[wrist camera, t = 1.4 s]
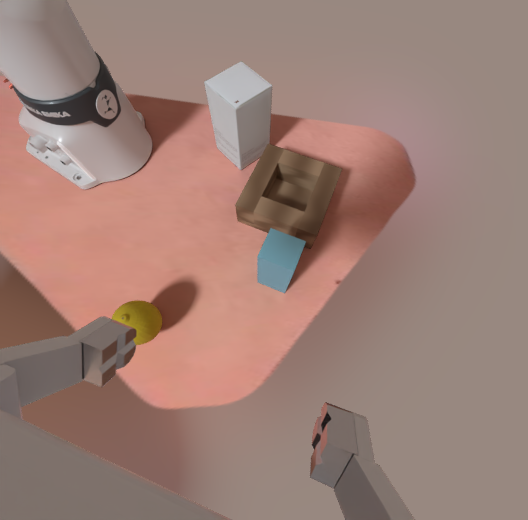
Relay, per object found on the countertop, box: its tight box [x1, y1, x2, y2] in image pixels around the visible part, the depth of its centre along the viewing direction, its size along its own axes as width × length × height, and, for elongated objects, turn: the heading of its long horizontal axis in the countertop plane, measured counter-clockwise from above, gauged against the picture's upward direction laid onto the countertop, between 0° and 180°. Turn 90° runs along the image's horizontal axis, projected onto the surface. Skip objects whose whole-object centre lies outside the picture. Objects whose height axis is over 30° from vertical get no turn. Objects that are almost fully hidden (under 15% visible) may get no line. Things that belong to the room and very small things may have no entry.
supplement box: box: [204, 61, 272, 170], centre depth 42 cm, size 7×7×13 cm
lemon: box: [112, 301, 162, 345], centre depth 33 cm, size 6×6×8 cm
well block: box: [235, 144, 342, 249], centre depth 42 cm, size 13×13×5 cm
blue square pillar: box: [258, 228, 306, 293], centre depth 35 cm, size 4×4×11 cm
